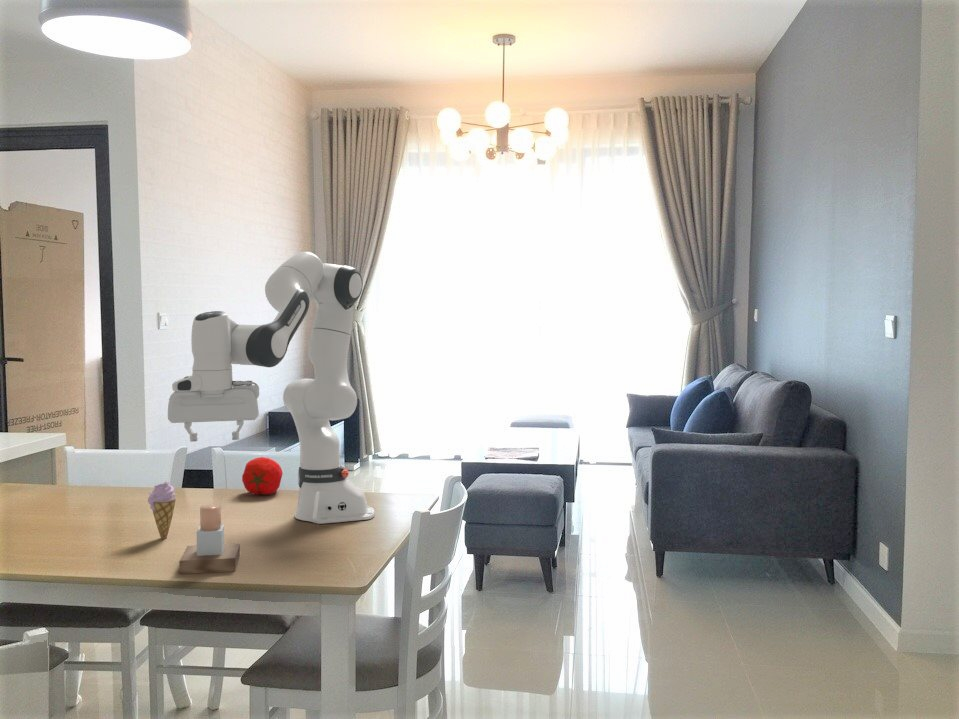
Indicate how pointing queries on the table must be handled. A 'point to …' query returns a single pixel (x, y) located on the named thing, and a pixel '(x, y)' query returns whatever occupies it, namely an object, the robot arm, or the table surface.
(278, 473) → the tomato
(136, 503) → the table surface
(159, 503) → the ice cream cone
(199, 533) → the white cube
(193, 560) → the walnut plinth
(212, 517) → the peach rounded block
